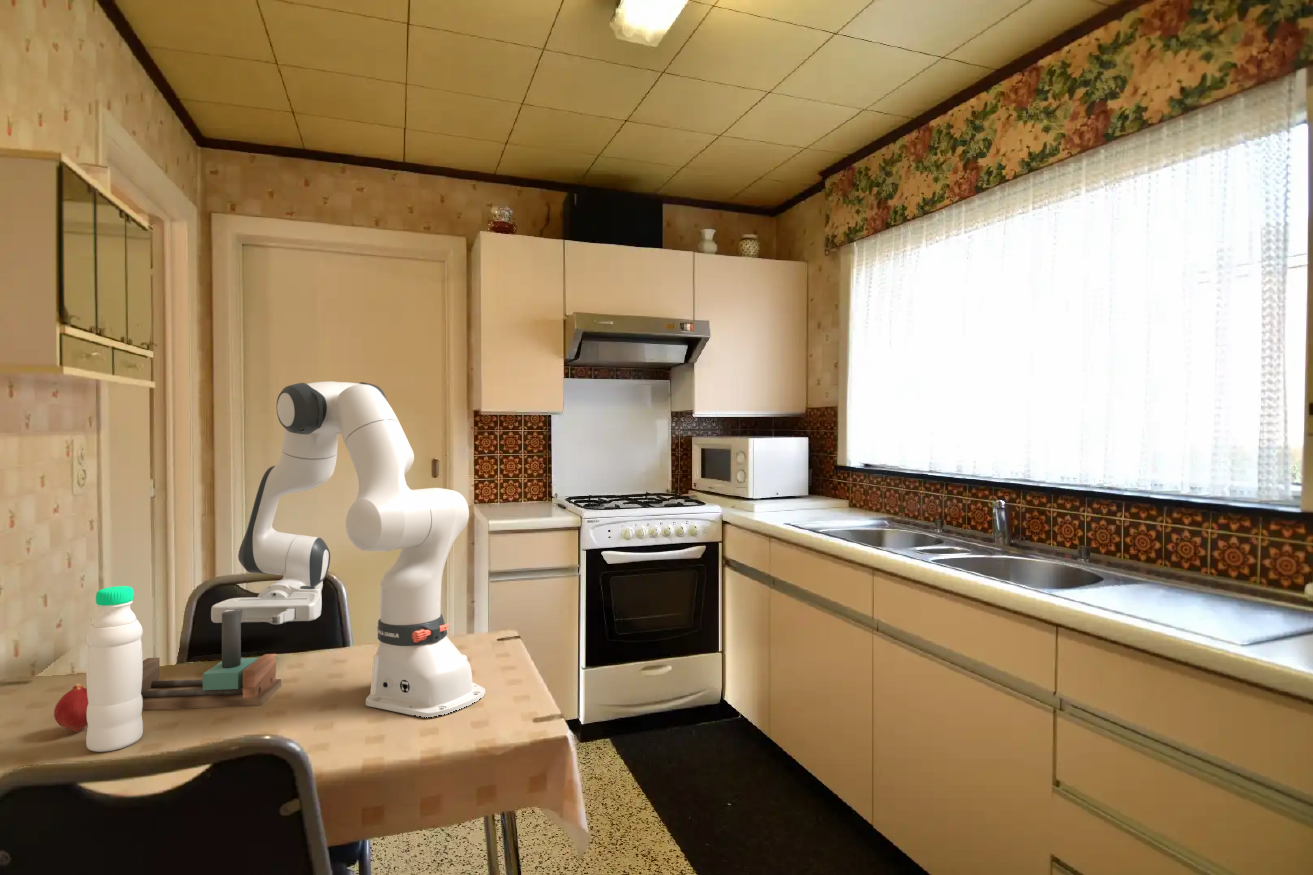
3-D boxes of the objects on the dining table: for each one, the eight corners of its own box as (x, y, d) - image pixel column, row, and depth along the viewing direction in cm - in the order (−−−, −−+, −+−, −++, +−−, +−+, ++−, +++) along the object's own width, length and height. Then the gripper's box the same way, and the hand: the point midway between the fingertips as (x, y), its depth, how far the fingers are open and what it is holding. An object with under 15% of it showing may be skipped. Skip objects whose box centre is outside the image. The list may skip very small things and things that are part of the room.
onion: (52, 731, 112) (52, 683, 112) (96, 720, 116) (96, 674, 116) (56, 742, 108) (56, 693, 108) (102, 730, 112) (102, 683, 112)
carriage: (258, 672, 131) (258, 606, 130) (237, 688, 123) (238, 618, 123) (225, 674, 130) (225, 607, 130) (202, 690, 122) (202, 619, 122)
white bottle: (75, 748, 106) (75, 590, 105) (124, 730, 112) (124, 581, 112) (104, 757, 103) (104, 595, 103) (153, 737, 110) (152, 585, 109)
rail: (281, 686, 132) (281, 653, 132) (260, 705, 123) (260, 669, 123) (148, 691, 129) (148, 657, 129) (116, 711, 120) (116, 675, 120)
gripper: (229, 588, 147) (194, 605, 133) (328, 587, 149) (304, 603, 136) (229, 617, 147) (194, 637, 133) (328, 615, 149) (304, 634, 136)
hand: (250, 620), depth 134 cm, fingers open, 8 cm apart
